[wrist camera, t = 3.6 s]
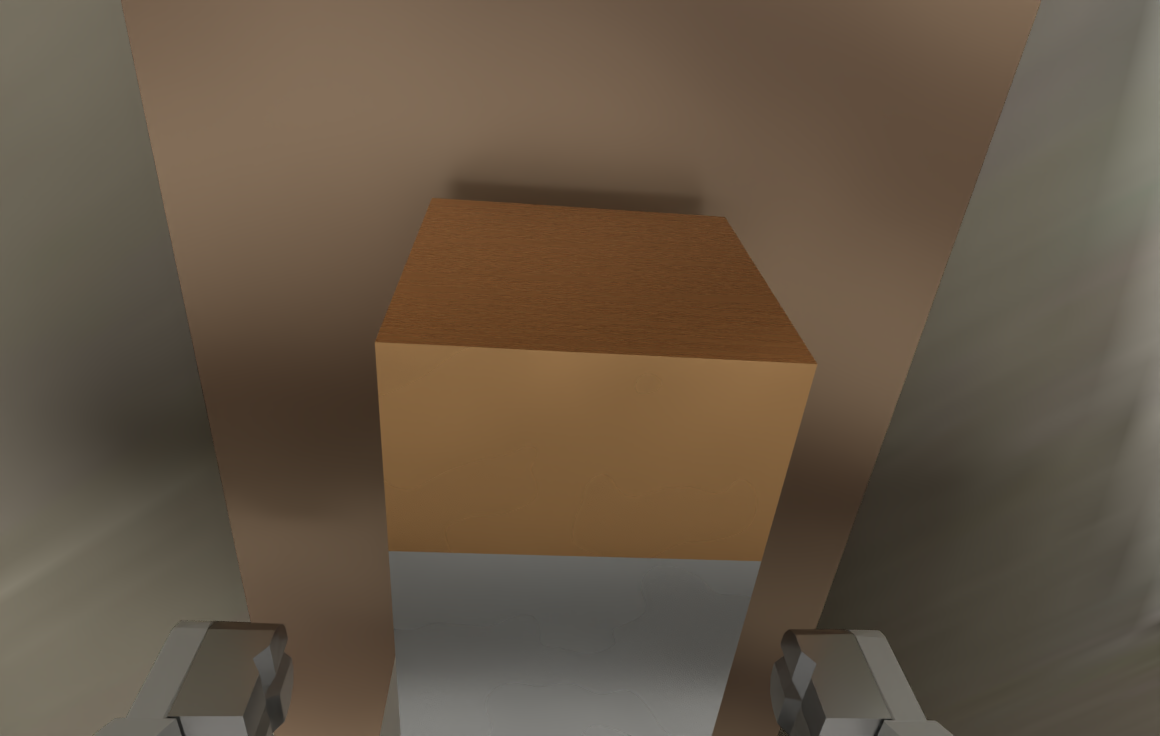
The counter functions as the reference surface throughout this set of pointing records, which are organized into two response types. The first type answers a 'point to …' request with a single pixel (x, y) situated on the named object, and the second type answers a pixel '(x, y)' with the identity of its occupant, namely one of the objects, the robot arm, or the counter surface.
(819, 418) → the baseboard
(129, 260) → the counter surface
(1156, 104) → the counter surface
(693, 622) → the rectangular peg
